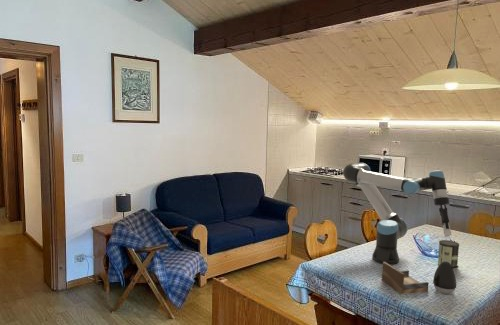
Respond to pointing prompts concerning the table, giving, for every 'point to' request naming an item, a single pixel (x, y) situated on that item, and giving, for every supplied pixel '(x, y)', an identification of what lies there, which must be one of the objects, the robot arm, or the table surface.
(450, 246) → the coffee can
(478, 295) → the table surface
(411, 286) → the stand
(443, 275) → the pump dispenser
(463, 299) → the table surface
